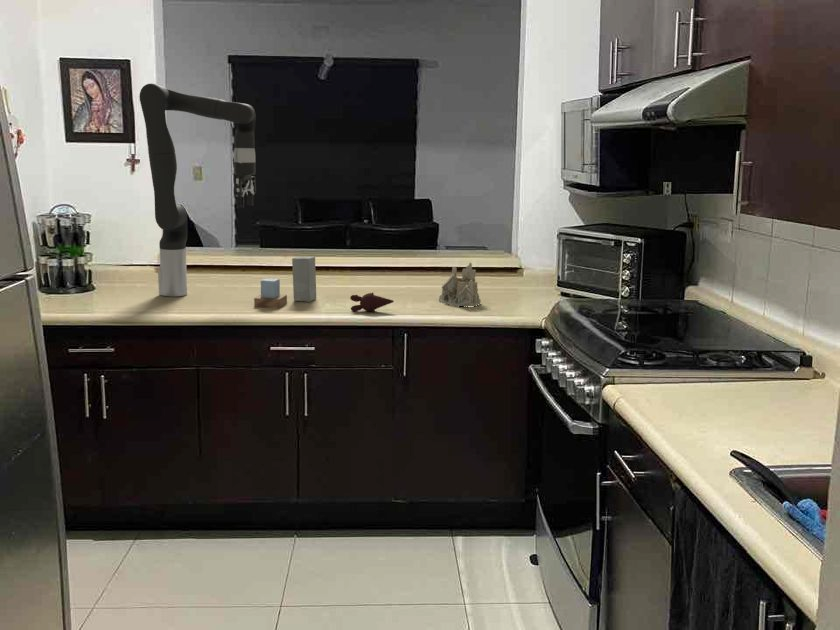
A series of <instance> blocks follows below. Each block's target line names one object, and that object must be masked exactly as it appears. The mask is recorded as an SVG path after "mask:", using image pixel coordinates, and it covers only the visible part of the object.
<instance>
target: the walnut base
mask: <svg viewBox="0 0 840 630" xmlns="http://www.w3.org/2000/svg"><path fill="white" fill-rule="evenodd" d="M287 297H288V294H280V296H278V297H276V298H263V297H261V294H259V295H258V296H256V297H254V298H253V299H254V300H253V301H254V303H253V305H254V307H255V308H268V309H269V308H270V309H281V308H282V307H284V306H285V305H287V304H288V298H287Z"/></svg>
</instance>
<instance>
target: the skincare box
mask: <svg viewBox="0 0 840 630" xmlns="http://www.w3.org/2000/svg"><path fill="white" fill-rule="evenodd" d="M291 262H292V263H291V264H292V266H291V267H292V287H293V288H292V289H293V301H294V302H306V303H307V302H309V303H311V302H312V301H314V300H315V299H317V273H316V272H317V271H316V256H304V255H303V256H301V255H300V256H295V257H294V258H292V259H291Z"/></svg>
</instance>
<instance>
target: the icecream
mask: <svg viewBox="0 0 840 630" xmlns="http://www.w3.org/2000/svg"><path fill="white" fill-rule="evenodd" d="M350 300H351V301H353V302H356V303H358V302H359V304H355V305H352V306H351V307H350V310H351V311H352V312H359V311H361V310H364V311H367V312H369V313H370V312H371V313H375V312H376V311H375V310H377V309H379V308H382V307H385V306H387V305H389V304H392V303H394V300H393V299H390V298H386V297H384V296H383V297H382V296H379V295H375V294H374V292H369V293H366V294H364V295H362V296H360V295H358V294H351V296H350Z"/></svg>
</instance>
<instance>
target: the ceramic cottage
mask: <svg viewBox="0 0 840 630" xmlns="http://www.w3.org/2000/svg"><path fill="white" fill-rule="evenodd" d="M457 269H458V268H457V267H456V266H454V267H453V266H452V268H451V275H450V276H449V277H448V279H447V280H446V281H445V282H444V283H443V284H442V285H441V290H442V291H441V294H440V295H439V296H438V297H439V298H438V302H439V303H441V302H442V303H441V304H444V303H446V304H445V305H448V304H450V305H449V306H451V305H453V306H452V307H454V306H465V307H466V306H467V307H468V306H476V305H478V304H480V303H481V299H480V295H479V293H478V292H479V289H478V282H477V281H476V273H477V272H476V271H477V270H476V269H473V264H472V262H469V263H468V265H466V267H465V268H462V273H461V274H462V277H458V276H457ZM480 305H481V304H480ZM478 306H479V305H478ZM465 307H464V308H465ZM467 307H466V308H467Z"/></svg>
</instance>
